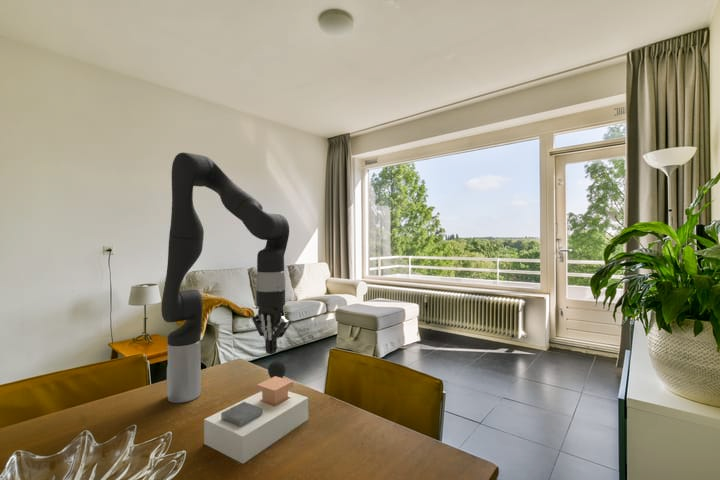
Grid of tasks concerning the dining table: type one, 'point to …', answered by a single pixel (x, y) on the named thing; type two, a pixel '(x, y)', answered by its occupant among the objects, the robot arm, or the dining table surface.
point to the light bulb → (276, 369)
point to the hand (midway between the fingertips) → (271, 352)
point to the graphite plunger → (241, 414)
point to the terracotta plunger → (274, 390)
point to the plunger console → (255, 427)
